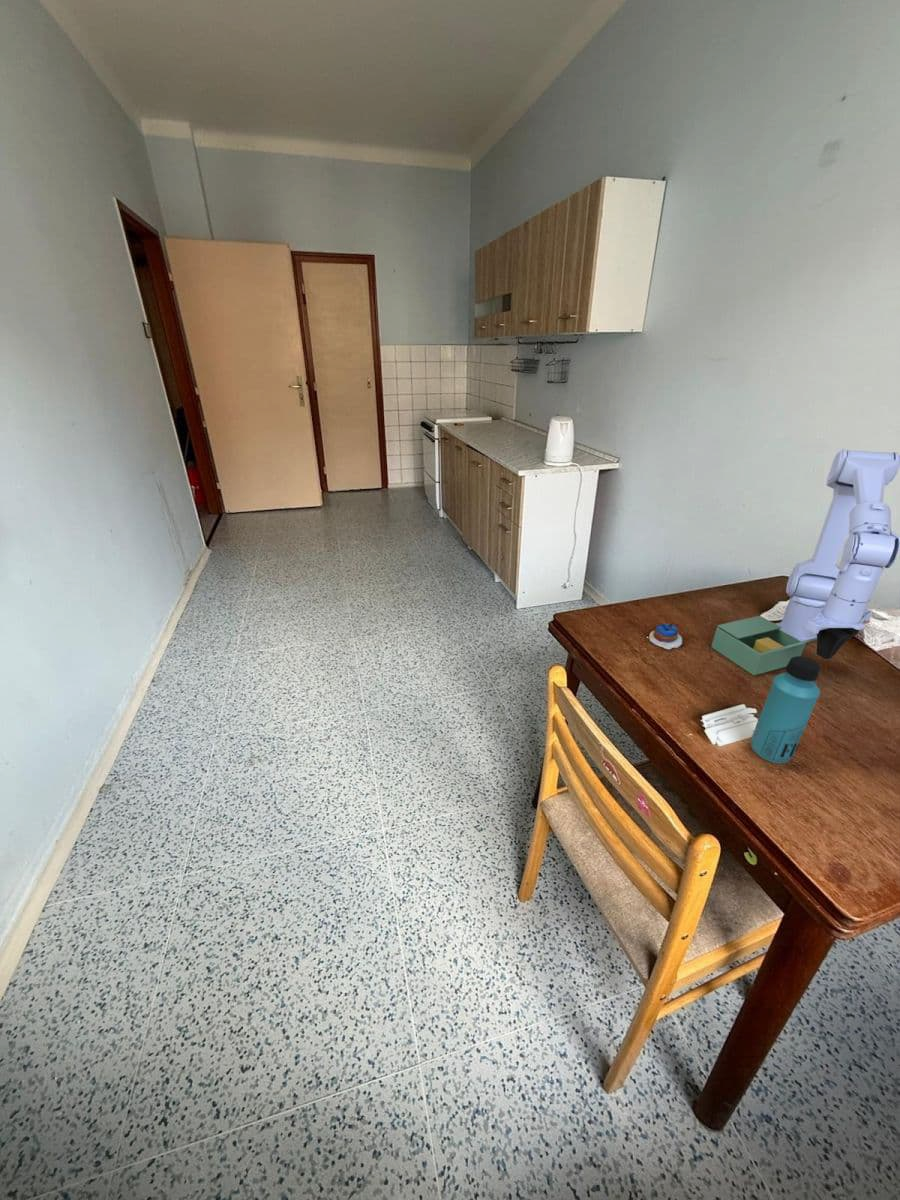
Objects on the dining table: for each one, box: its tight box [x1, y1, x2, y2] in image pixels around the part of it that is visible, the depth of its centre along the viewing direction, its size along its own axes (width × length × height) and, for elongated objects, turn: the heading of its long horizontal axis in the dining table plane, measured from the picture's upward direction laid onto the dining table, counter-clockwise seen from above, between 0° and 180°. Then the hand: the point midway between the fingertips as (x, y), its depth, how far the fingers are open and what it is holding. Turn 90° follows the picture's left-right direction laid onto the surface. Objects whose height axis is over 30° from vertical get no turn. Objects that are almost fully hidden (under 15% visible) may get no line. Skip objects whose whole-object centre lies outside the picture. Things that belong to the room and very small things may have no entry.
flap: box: [762, 638, 817, 653], centre depth 98 cm, size 13×6×1 cm
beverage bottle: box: [749, 656, 821, 764], centre depth 77 cm, size 6×7×20 cm
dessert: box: [648, 623, 683, 650], centre depth 114 cm, size 8×7×6 cm
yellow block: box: [753, 637, 784, 654], centre depth 105 cm, size 4×4×5 cm
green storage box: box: [711, 615, 807, 676], centre depth 107 cm, size 13×12×6 cm
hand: (823, 656), depth 93 cm, fingers closed
